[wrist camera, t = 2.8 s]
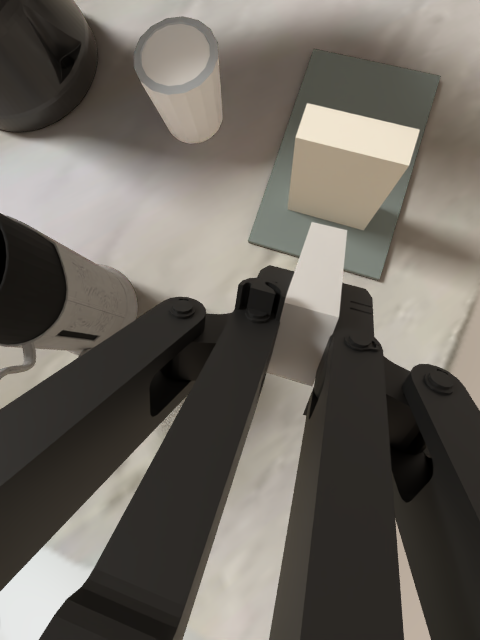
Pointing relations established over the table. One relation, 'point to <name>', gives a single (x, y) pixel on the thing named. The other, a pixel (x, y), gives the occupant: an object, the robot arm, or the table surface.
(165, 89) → the white cup
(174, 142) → the table surface
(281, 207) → the mat
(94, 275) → the tall grey mug
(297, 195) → the cream rectangular block
